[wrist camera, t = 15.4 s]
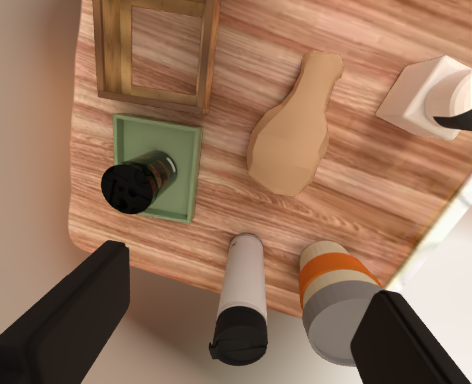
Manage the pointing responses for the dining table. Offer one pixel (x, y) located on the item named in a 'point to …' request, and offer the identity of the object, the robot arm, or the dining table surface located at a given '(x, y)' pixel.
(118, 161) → the tray
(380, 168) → the dining table surface
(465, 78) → the white block figurine
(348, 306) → the reusable coffee cup
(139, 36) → the dining table surface
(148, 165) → the supplement container
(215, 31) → the brown wooden square frame
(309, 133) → the squash
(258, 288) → the travel mug
